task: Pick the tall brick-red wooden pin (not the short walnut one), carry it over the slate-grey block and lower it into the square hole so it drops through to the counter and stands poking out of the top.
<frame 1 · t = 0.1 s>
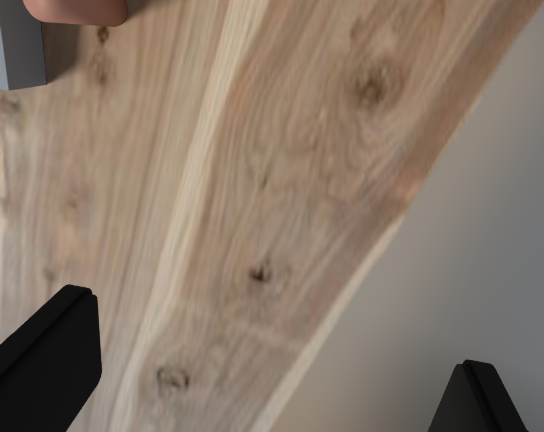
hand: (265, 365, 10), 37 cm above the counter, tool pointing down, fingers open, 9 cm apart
long pin: (110, 7, 42), on the counter
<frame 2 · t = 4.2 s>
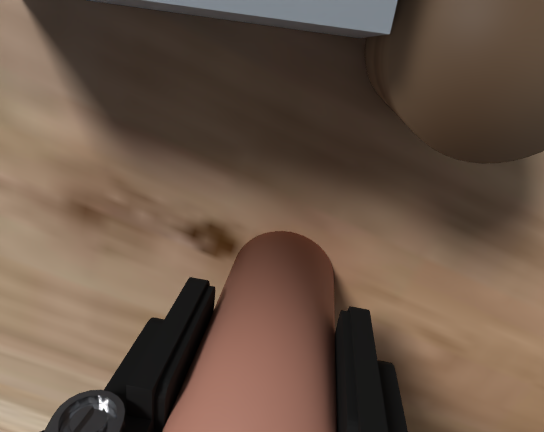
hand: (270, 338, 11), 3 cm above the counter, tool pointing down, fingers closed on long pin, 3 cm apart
long pin: (282, 276, 14), on the counter, touching gripper
short pin: (432, 48, 11), on the counter
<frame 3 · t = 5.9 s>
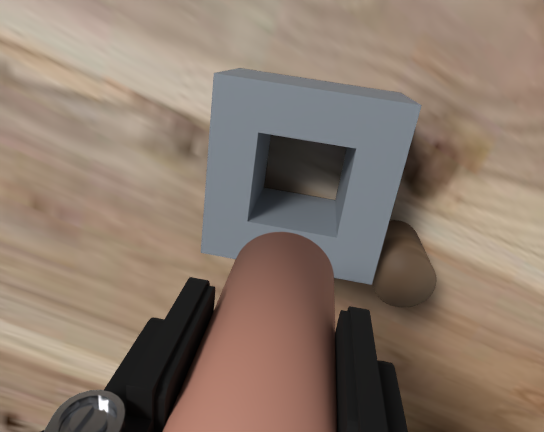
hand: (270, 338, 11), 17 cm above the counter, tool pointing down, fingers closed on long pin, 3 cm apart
long pin: (282, 277, 14), point 14 cm above the counter, touching gripper
short pin: (392, 243, 28), on the counter
hole block: (305, 158, 27), on the counter
when the fingers open (7 cm above the counter, at t = 7.9 s): long pin drops 4 cm, resting in hole block.
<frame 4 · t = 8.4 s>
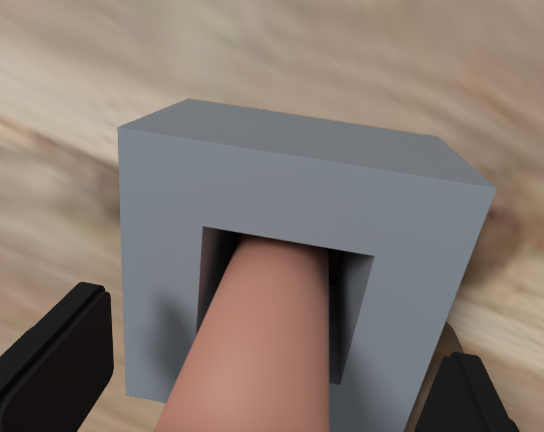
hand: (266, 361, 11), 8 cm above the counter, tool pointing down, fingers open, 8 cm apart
long pin: (288, 228, 18), resting in hole block
short pin: (418, 344, 20), on the counter
hole block: (291, 229, 18), on the counter
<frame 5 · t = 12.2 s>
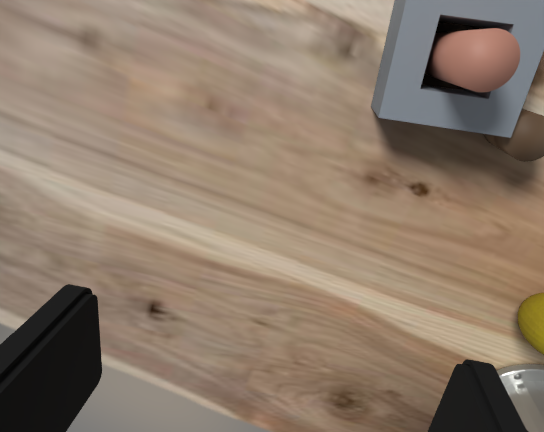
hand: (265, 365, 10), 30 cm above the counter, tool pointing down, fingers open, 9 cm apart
long pin: (441, 55, 34), resting in hole block
short pin: (505, 126, 36), on the counter
lemon: (533, 299, 42), on the counter
hole block: (443, 55, 34), on the counter
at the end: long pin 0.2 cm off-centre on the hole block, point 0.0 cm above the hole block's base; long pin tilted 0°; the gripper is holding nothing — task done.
